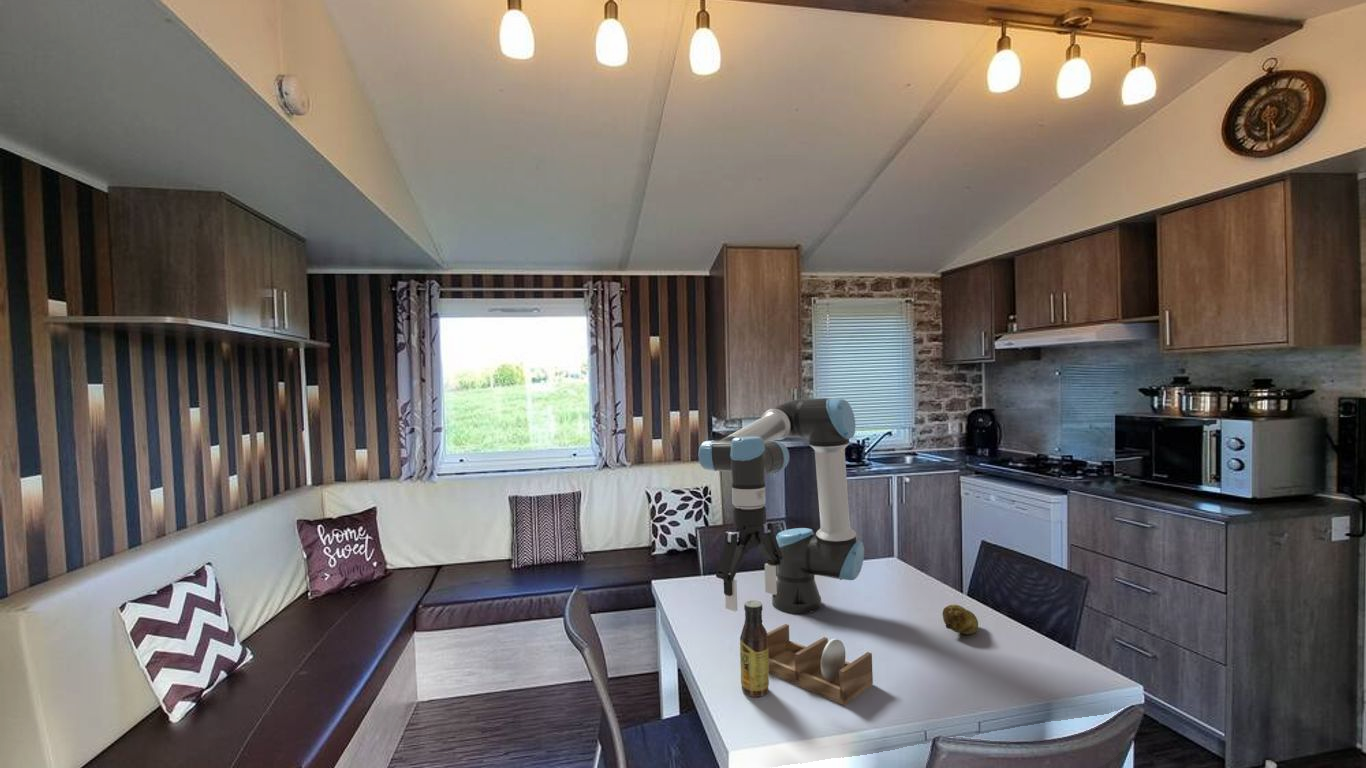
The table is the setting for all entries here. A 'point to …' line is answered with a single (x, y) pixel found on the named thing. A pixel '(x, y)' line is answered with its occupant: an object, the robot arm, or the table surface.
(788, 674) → the dish rack
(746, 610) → the sauce bottle
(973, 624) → the potato
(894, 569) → the table surface
